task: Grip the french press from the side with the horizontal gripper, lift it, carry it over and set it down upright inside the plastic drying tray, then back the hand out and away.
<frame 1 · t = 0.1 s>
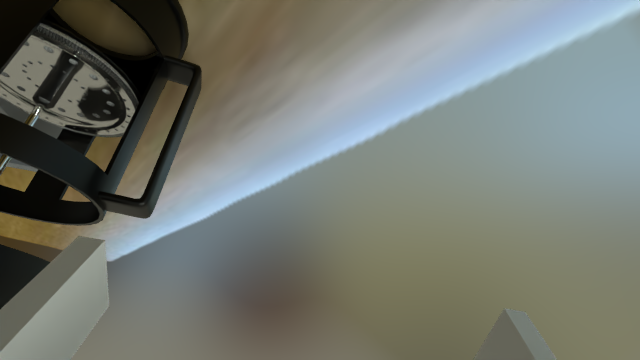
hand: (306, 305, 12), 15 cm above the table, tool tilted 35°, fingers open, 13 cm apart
french press: (118, 7, 21), on the table
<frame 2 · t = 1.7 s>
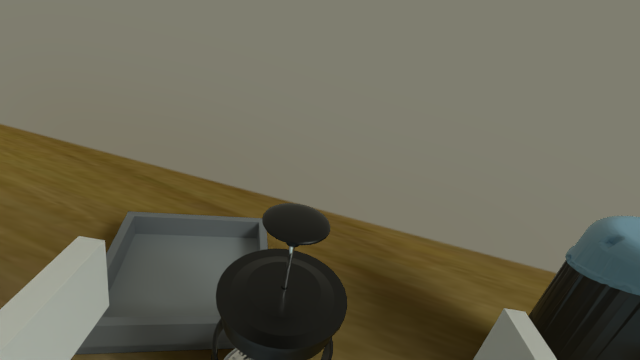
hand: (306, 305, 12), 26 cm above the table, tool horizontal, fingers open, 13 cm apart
drying tray: (190, 283, 45), on the table
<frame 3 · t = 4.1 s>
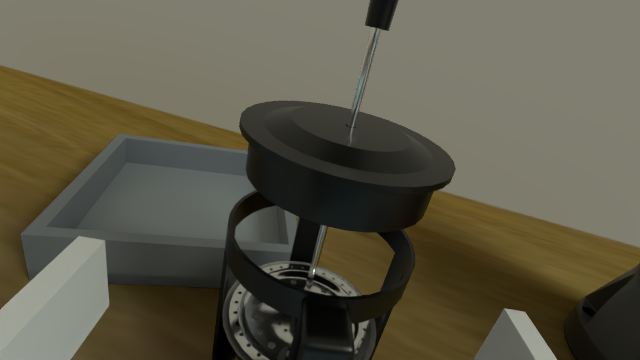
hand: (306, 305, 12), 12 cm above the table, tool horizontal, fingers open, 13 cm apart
drying tray: (192, 217, 35), on the table
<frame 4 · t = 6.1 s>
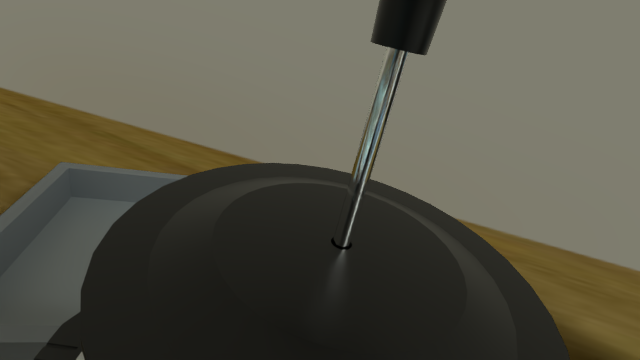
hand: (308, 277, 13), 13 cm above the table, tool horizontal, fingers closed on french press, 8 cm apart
drying tray: (146, 272, 28), on the table
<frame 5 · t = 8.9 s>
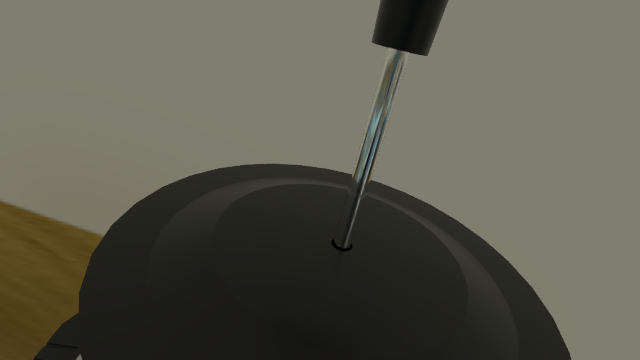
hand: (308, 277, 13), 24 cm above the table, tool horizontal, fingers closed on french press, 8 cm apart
when the fingers open (15 cm above the table, at t = 11.6 s): french press drops 1 cm, resting on drying tray.
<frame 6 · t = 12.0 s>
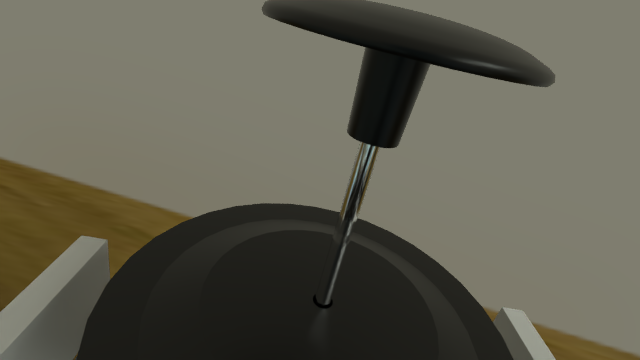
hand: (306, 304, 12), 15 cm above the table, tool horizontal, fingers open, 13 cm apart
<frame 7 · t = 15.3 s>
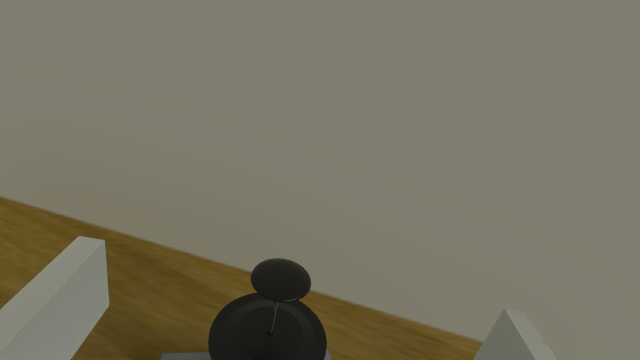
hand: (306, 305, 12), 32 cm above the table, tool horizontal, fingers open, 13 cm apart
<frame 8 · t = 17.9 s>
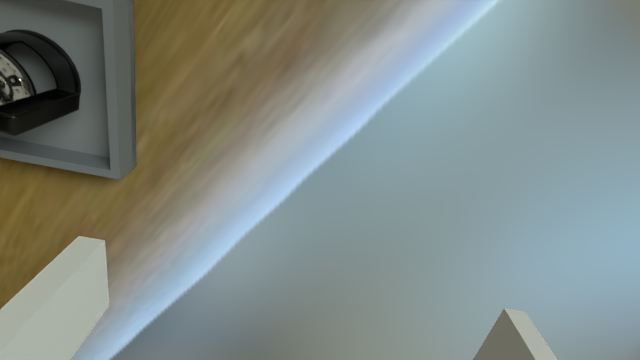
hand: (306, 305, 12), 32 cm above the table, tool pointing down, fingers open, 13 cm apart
french press: (43, 77, 39), point 1 cm above the table, touching drying tray
drying tray: (48, 73, 39), on the table
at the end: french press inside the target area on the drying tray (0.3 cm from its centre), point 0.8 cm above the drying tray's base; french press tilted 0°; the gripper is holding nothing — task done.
